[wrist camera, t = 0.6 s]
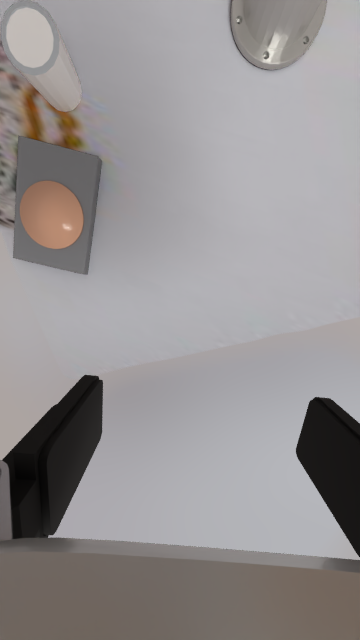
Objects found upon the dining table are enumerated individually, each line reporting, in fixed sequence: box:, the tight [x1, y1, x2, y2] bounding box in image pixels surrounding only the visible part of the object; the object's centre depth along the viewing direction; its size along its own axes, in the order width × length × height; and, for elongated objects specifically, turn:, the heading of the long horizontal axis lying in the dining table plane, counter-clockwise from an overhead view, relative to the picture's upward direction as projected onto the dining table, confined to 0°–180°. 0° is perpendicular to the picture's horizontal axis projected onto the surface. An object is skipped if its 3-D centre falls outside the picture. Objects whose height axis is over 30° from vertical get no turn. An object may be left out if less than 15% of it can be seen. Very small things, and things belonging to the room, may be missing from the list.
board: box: [13, 136, 102, 274], centre depth 34 cm, size 18×12×2 cm, turn 167°
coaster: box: [20, 181, 84, 249], centre depth 33 cm, size 10×10×1 cm
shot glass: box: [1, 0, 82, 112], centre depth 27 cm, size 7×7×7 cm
